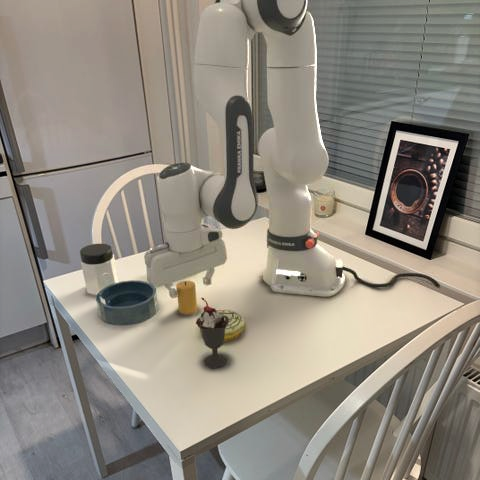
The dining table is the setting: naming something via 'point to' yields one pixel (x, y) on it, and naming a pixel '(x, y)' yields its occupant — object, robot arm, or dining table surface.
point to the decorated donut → (232, 324)
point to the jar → (98, 267)
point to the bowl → (127, 302)
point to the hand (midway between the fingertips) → (191, 290)
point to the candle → (186, 297)
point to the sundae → (213, 334)
